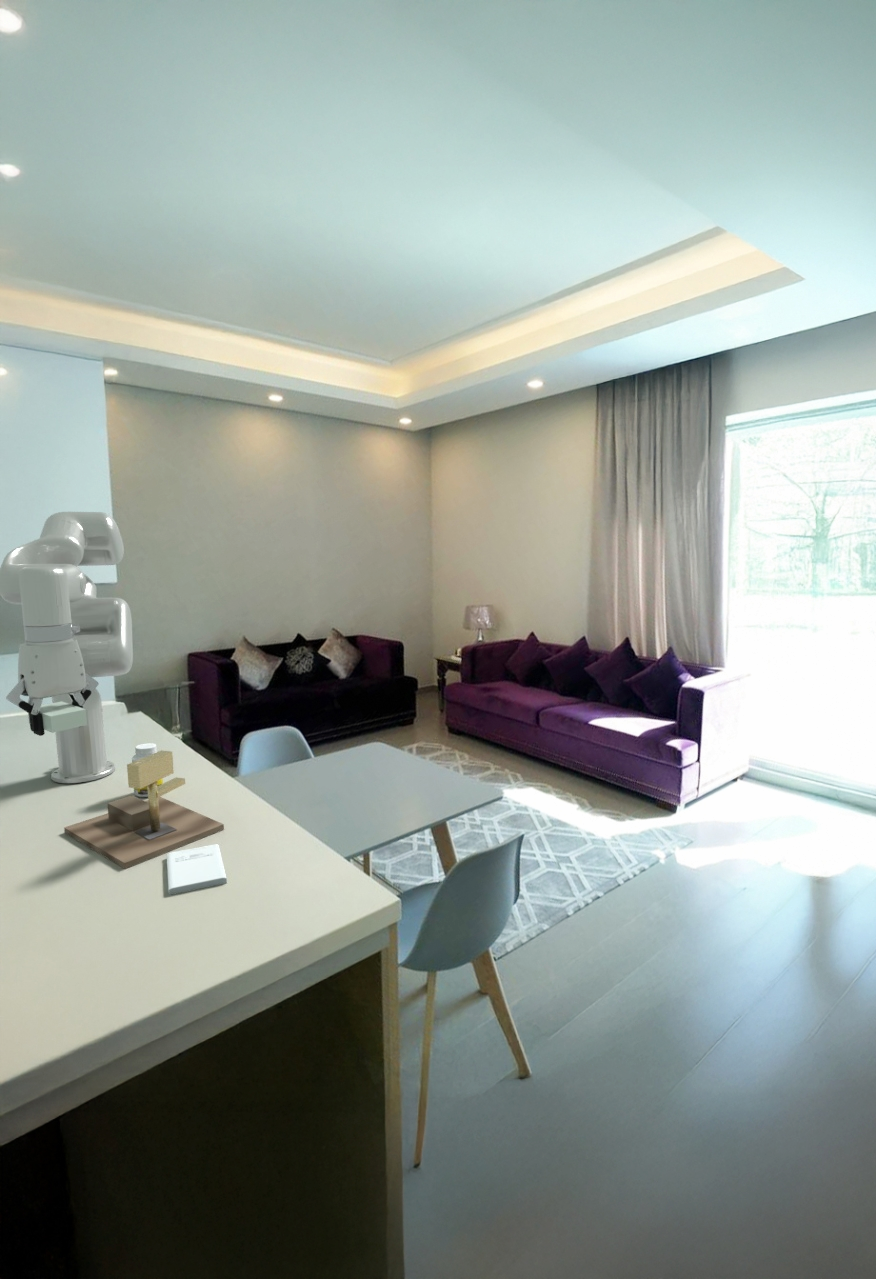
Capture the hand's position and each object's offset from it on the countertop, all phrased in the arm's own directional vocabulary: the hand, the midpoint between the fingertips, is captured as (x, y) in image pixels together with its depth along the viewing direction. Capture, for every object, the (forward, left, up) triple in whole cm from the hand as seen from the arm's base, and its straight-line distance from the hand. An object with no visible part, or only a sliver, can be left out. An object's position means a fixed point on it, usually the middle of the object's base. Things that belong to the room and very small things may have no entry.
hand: (58, 729), depth 120 cm
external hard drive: (+38, +3, -18) cm, 42 cm away
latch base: (+18, +6, -17) cm, 26 cm away
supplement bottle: (+1, +16, -18) cm, 24 cm away
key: (+21, +7, -16) cm, 28 cm away
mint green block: (0, 0, +1) cm, 1 cm away
